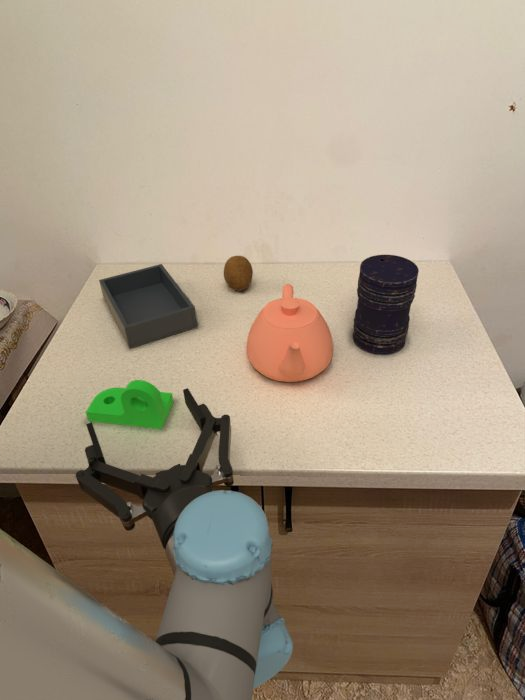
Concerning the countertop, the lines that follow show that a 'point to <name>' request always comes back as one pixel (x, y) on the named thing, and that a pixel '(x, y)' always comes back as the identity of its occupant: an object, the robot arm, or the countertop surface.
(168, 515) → the robot arm
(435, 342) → the countertop surface
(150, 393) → the mechanical part
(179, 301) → the dark grey open tray
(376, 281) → the dark blue cylinder
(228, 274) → the fruit
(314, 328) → the teapot
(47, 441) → the countertop surface
